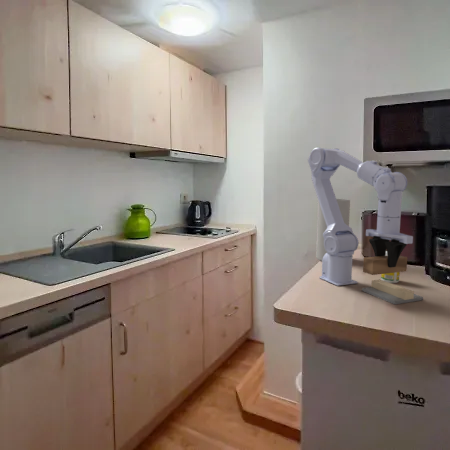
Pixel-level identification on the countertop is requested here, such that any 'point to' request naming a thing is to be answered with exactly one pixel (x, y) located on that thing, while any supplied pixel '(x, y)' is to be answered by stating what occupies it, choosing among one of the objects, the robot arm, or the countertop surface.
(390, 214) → the robot arm
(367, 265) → the walnut bar
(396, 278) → the supplement bottle
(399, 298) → the board
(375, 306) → the countertop surface
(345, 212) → the cylinder vase
